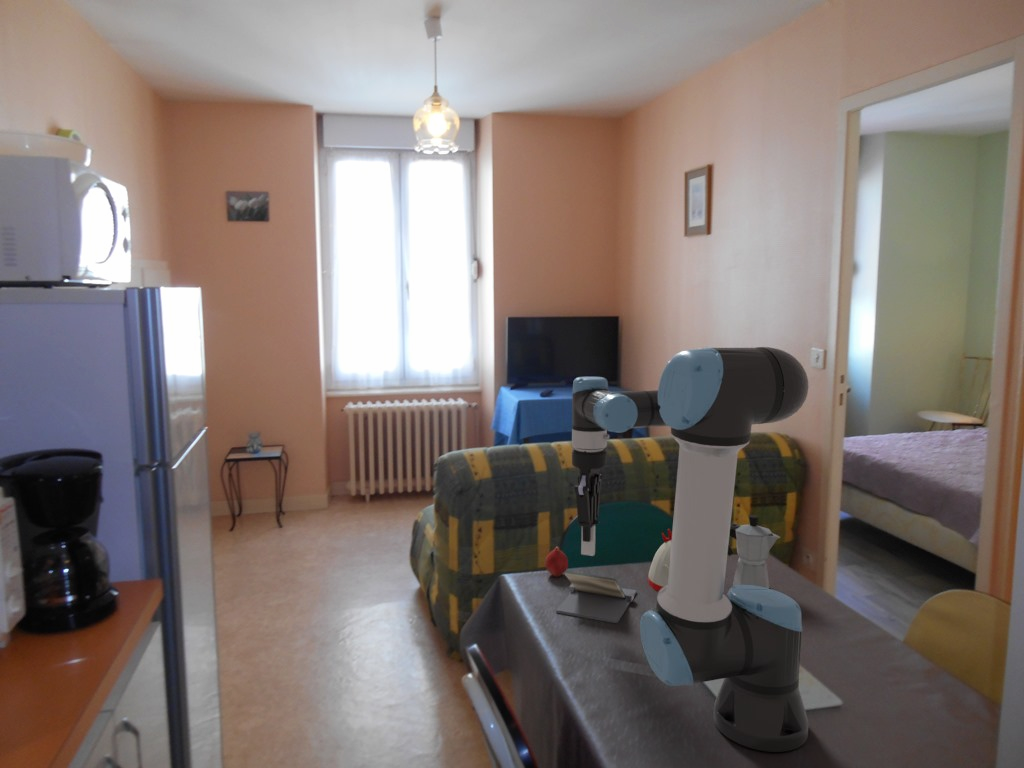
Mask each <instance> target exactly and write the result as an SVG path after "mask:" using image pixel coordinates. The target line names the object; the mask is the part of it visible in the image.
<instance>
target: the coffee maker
mask: <svg viewBox="0 0 1024 768" xmlns="http://www.w3.org/2000/svg"><path fill="white" fill-rule="evenodd" d="M748 520H749V521H748V522H749V524H741V525H739V524H738V523H732V524H730V534H729V537H731V538H733V539H734V540H735V543H736V544H735V545H736V553H737V555H738V559H737V561H736V567H735V572H734V575H733V576H734V577H733V583H732V587H733V586H736V585H754V586H760V587H765V588H770V582H769V581H770V579H769V574H768V573H769V572H768V564H767V561H766V560H767V559H768V557H769V555H770V550H771V549H772V547H773V546H774V544H775V543H776V541H777V540H778V539H780V538H781V536H779V535H777V534H776V533H773V532H772V531H771V530H770V528H767V527H763V526H760V525H758V522H759V516H758V515H755V514H750V515H748ZM733 554H734V552H733V550H732V549H731V546H730V544H728V553H727V556H728V557H731V556H732V555H733ZM770 589H771V588H770Z"/></svg>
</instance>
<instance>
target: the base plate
mask: <svg viewBox="0 0 1024 768" xmlns="http://www.w3.org/2000/svg"><path fill="white" fill-rule="evenodd" d="M621 589H622V591H623V592H624V594H625V595H627V594H628V592H634V597H635V596H636V595H637V590H636V589H630V588H624V587H623V588H622V587H621ZM630 604H631V602H627V601H626V599H622V598H616V597H610V596H604V595H598V594H591V593H585V592H579V591H577V590H576V591H575V592H574V593H572V592H569V594H568V595H567V597H566V598H565V599H564V600H563V601H562V603H561V604H560V605H559V606H558V607H557V608H556V610H555V613H556V614H561V615H566V616H567V615H568V616H571V617H579V618H585V619H590V620H596V621H601V622H607V623H612V624H613V623H614V624H618V623H619V621H620V620H621V618H622V617H623V615H624V614H625V612H626V611H627V609H628V607H629V606H630Z"/></svg>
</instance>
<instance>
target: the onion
mask: <svg viewBox="0 0 1024 768" xmlns="http://www.w3.org/2000/svg"><path fill="white" fill-rule="evenodd" d="M544 562H545V569H546V570H547V572H549V573H550V575H552V576H553V577H556V578H559V577H560V576H562V575H564V574H565V572H566V571H568V567H569V559H568V556H567V555H566V554H565V553H564V551H562V550H561V549H560V547H559V546H556V547H554V549H553V550H551V551H549V553H548V554H547V556H546V557H545V561H544Z"/></svg>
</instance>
